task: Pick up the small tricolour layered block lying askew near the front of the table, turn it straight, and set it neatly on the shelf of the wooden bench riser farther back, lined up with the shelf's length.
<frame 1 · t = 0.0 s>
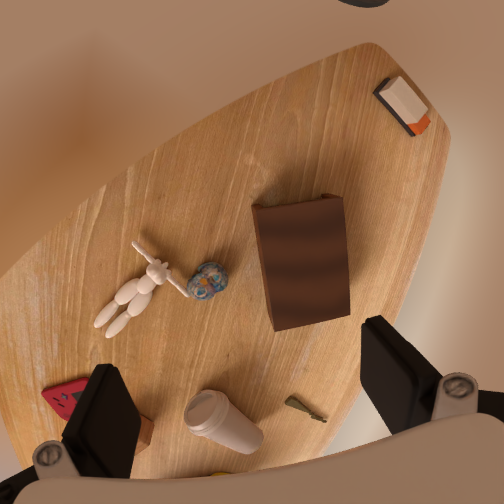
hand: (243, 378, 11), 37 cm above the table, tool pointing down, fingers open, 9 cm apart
fruit: (232, 474, 62), point 1 cm above the table
decorative stone: (207, 277, 49), on the table
olive tapered flat bar: (309, 413, 57), point 1 cm above the table
wooden bench riser: (298, 255, 49), on the table
decorative figure: (99, 334, 47), point 2 cm above the table
decorative item: (140, 425, 51), point 4 cm above the table
coffee cup: (250, 440, 55), point 3 cm above the table
tricolour layered block: (398, 107, 44), on the table
handheld gaming console: (53, 408, 52), point 1 cm above the table
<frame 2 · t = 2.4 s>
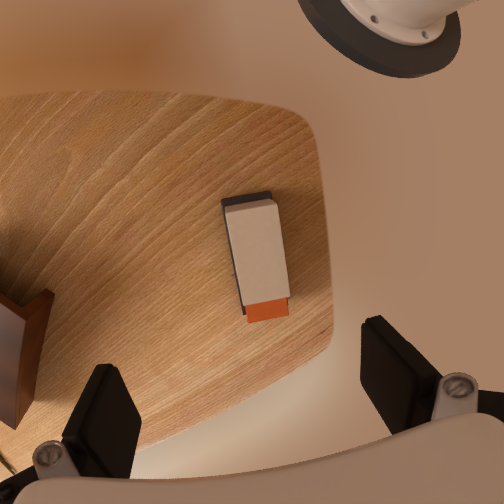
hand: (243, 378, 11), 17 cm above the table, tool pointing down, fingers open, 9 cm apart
wooden bench riser: (1, 329, 27), on the table
tricolour layered block: (255, 252, 27), on the table
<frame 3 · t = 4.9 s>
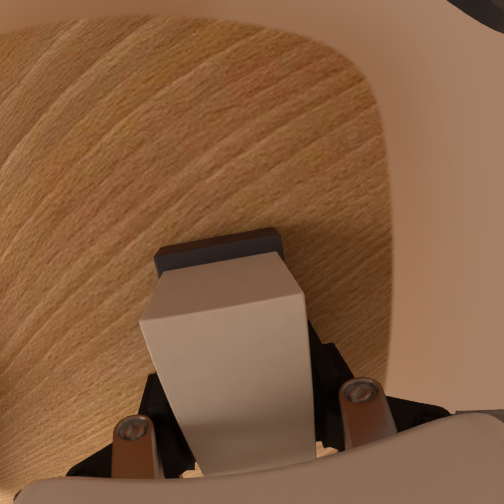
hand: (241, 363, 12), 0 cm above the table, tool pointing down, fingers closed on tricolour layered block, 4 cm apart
tricolour layered block: (241, 358, 12), on the table, touching gripper
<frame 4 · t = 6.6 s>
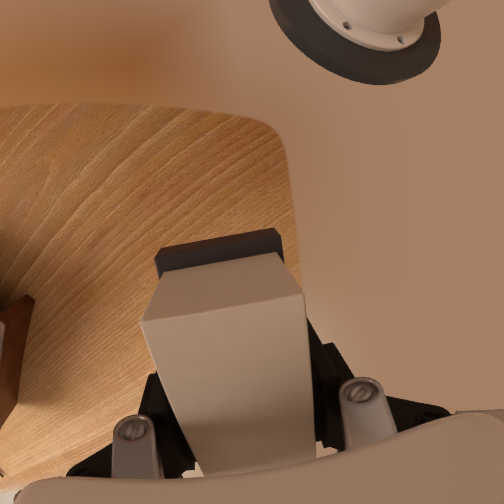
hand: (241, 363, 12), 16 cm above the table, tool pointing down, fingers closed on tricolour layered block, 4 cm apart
tricolour layered block: (241, 358, 12), point 15 cm above the table, touching gripper
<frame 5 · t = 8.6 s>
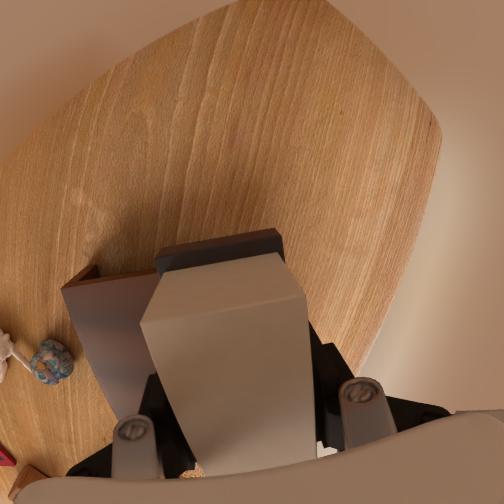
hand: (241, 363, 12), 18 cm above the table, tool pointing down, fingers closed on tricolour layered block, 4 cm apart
decorative stone: (55, 355, 30), on the table
wooden bench riser: (164, 339, 31), on the table
decorative item: (37, 484, 33), point 4 cm above the table
tricolour layered block: (241, 359, 12), point 17 cm above the table, touching gripper
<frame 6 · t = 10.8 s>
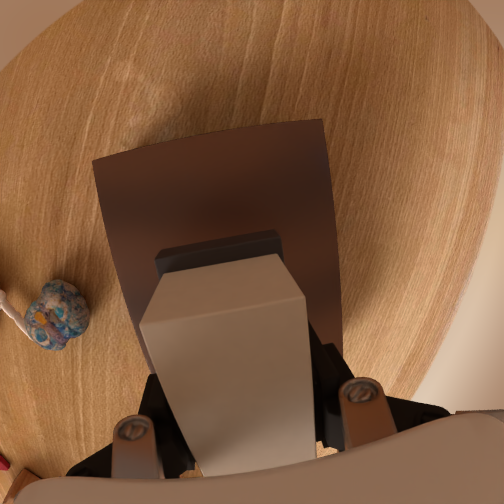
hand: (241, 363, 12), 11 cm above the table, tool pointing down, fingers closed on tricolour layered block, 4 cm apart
decorative stone: (62, 307, 22), on the table
wooden bench riser: (230, 268, 23), on the table
decorative item: (36, 494, 25), point 4 cm above the table
tricolour layered block: (241, 360, 12), point 11 cm above the table, touching gripper
when the fingers open (6 cm above the table, at t = 12.4 s): tricolour layered block stays where it is, resting on wooden bench riser.
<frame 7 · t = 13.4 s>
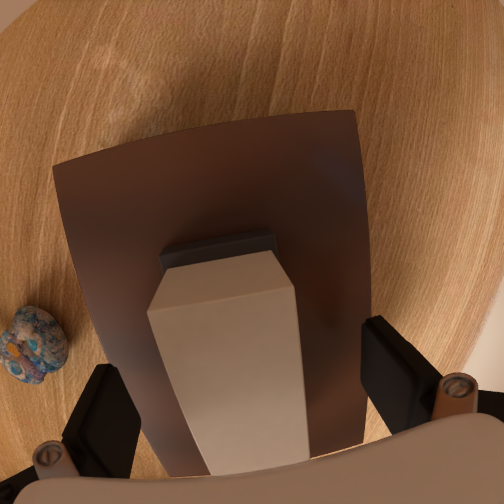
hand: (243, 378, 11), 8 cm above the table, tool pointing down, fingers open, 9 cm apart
decorative stone: (39, 335, 18), on the table
wooden bench riser: (232, 295, 19), on the table
tricolour layered block: (239, 351, 13), point 6 cm above the table, touching wooden bench riser
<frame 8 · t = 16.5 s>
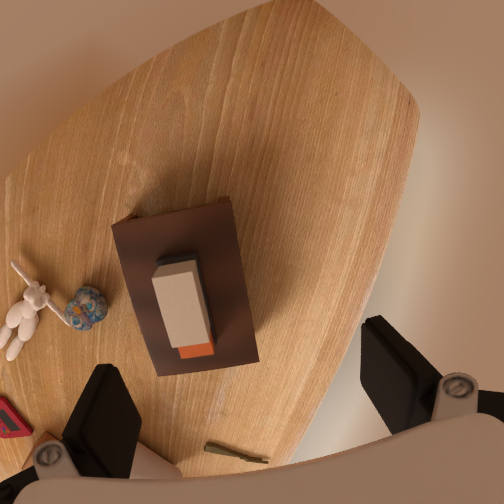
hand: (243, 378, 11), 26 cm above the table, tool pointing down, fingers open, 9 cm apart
decorative stone: (89, 303, 37), on the table
olive tapered flat bar: (238, 457, 45), point 1 cm above the table
wooden bench riser: (192, 280, 37), on the table
decorative figure: (0, 357, 35), point 2 cm above the table
decorative item: (54, 451, 39), point 4 cm above the table
coffee cup: (170, 481, 43), point 3 cm above the table
tricolour layered block: (188, 301, 31), point 6 cm above the table, touching wooden bench riser
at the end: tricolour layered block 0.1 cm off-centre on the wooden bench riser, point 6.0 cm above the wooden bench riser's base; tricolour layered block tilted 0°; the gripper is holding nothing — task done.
